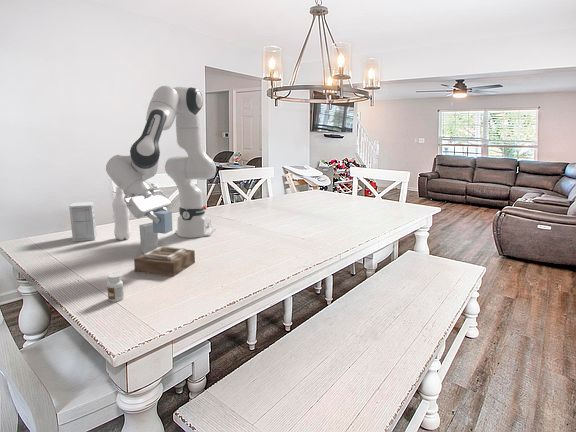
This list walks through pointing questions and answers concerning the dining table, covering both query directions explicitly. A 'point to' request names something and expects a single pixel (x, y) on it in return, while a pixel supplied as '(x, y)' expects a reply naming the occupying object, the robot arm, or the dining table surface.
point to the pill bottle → (115, 288)
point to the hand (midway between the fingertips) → (164, 220)
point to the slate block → (163, 222)
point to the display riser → (165, 261)
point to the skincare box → (148, 238)
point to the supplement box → (83, 221)
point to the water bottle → (121, 216)
